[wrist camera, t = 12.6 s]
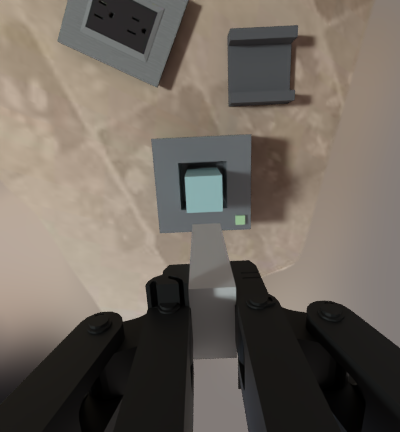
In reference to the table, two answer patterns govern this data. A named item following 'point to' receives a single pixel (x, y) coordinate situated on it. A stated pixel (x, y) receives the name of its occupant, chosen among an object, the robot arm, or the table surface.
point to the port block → (203, 156)
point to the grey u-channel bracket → (260, 65)
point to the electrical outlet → (124, 33)
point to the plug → (203, 189)
